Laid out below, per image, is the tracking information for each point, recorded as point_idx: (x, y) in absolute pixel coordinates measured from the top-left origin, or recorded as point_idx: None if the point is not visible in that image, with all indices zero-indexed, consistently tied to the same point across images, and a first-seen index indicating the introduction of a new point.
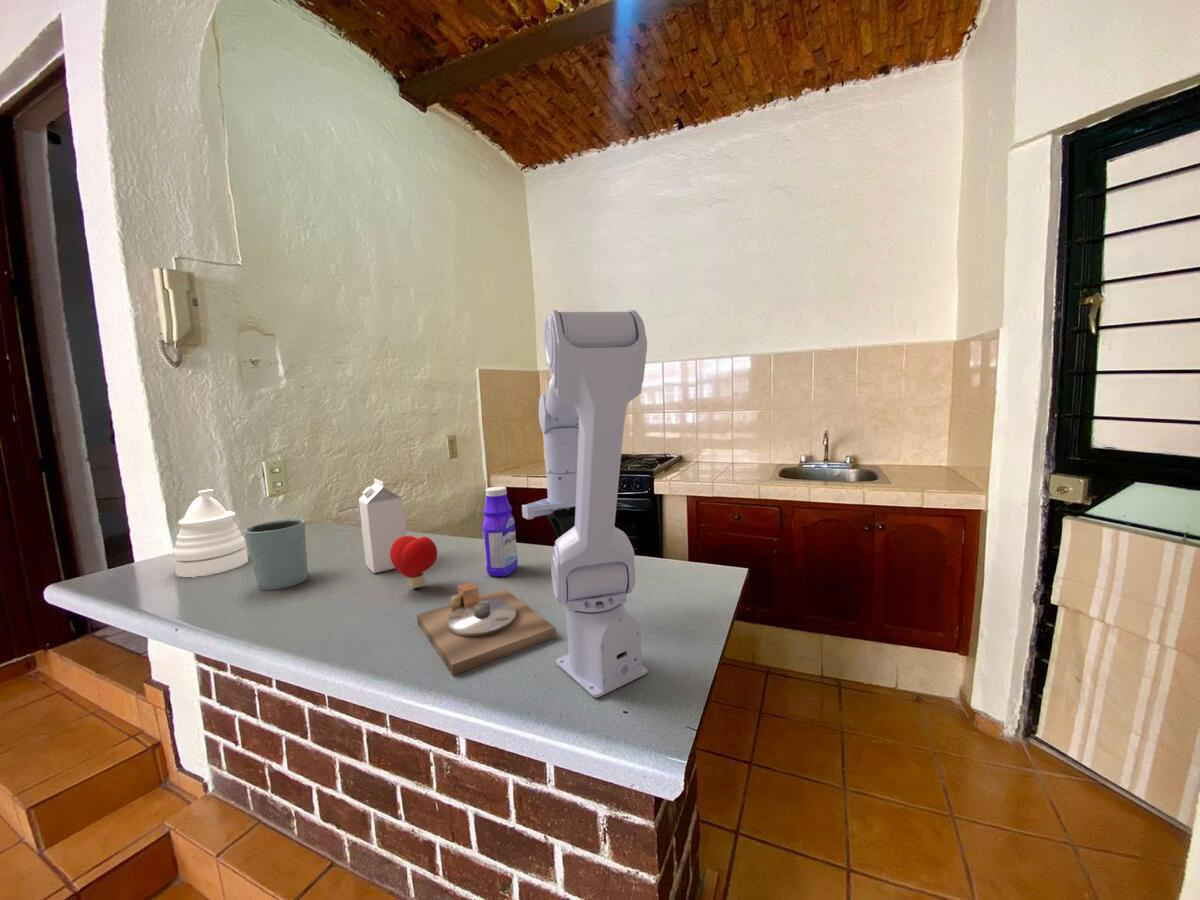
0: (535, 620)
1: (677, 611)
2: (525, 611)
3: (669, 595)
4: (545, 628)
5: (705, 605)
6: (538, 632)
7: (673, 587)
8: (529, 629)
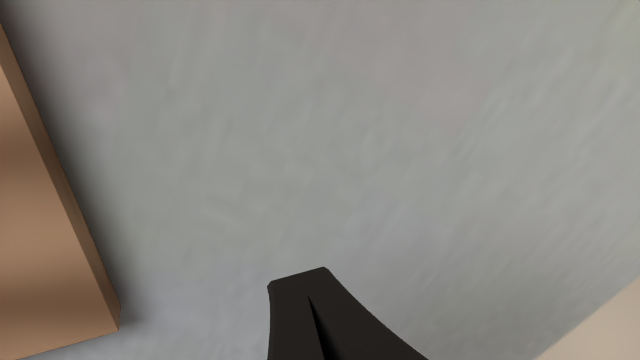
0: (48, 266)
1: (509, 282)
2: (9, 172)
3: (571, 188)
4: (80, 329)
5: (582, 278)
6: (47, 347)
7: (626, 140)
8: (13, 321)
